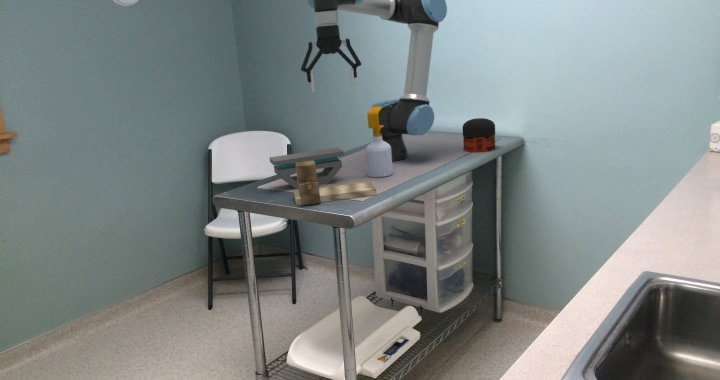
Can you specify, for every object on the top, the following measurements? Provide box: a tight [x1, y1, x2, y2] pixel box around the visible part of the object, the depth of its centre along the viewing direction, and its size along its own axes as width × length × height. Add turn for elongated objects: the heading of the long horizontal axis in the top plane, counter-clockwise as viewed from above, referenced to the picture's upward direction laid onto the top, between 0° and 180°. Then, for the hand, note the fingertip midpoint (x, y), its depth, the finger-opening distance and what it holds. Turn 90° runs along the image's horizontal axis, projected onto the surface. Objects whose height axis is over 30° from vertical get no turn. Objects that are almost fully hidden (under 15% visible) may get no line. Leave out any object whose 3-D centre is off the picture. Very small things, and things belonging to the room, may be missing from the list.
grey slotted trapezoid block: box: [269, 147, 345, 190], centre depth 220 cm, size 25×8×11 cm, turn 108°
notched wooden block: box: [295, 160, 322, 206], centre depth 198 cm, size 6×11×12 cm, turn 10°
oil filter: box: [462, 117, 496, 154], centre depth 252 cm, size 13×12×13 cm
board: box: [293, 181, 377, 206], centre depth 203 cm, size 26×10×2 cm, turn 100°
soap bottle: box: [365, 106, 393, 178], centre depth 222 cm, size 9×9×25 cm
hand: (333, 90), depth 209 cm, fingers open, 13 cm apart
